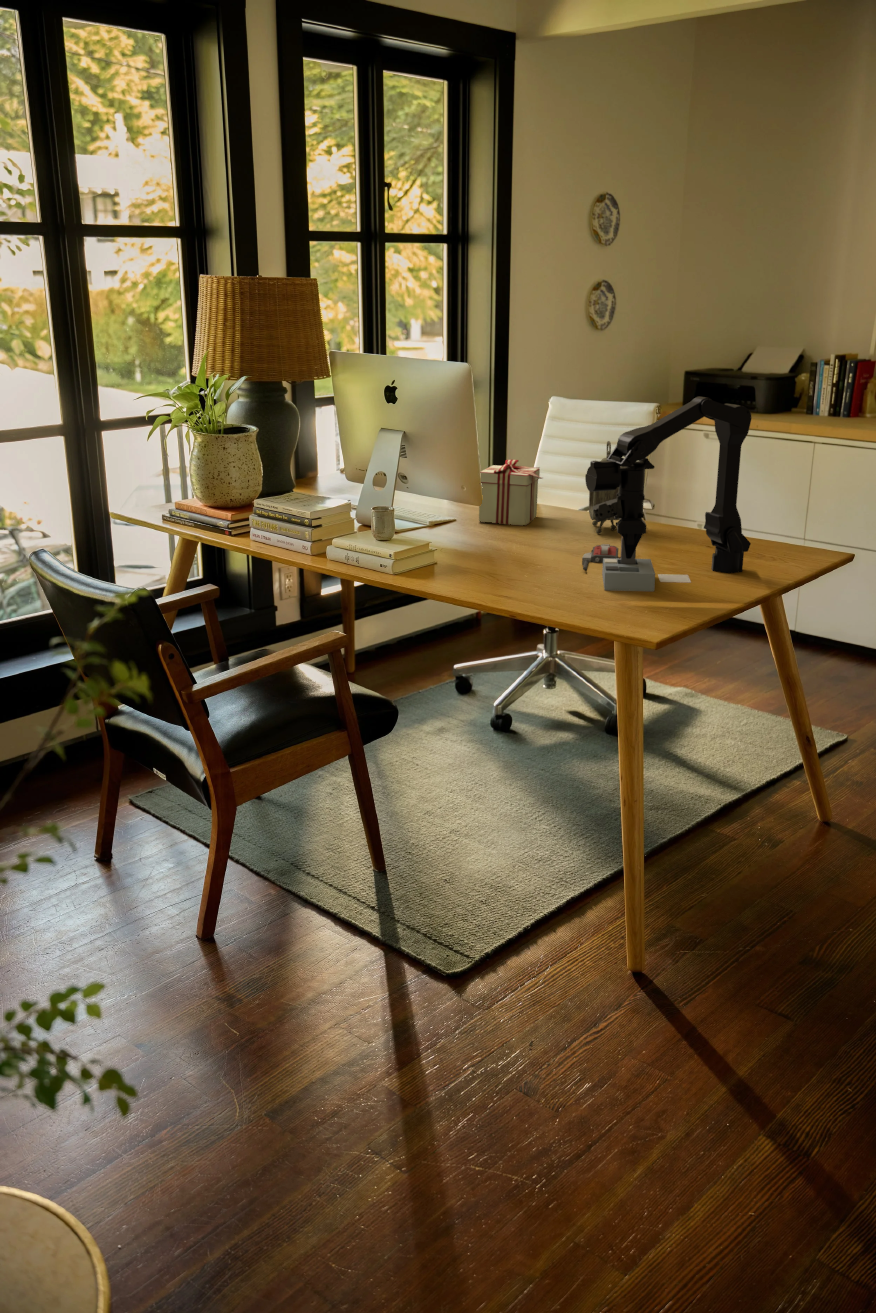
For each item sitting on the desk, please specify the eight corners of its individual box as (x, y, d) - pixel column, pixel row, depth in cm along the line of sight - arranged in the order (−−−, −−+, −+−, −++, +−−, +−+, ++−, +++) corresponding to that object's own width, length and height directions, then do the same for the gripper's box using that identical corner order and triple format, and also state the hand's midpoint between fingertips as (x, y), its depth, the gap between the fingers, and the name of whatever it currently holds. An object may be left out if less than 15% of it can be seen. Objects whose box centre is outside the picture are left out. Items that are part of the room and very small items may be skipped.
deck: (687, 578, 255) (687, 574, 255) (690, 586, 249) (691, 582, 248) (657, 578, 256) (657, 574, 256) (659, 585, 249) (660, 581, 249)
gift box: (539, 526, 313) (541, 467, 307) (477, 524, 317) (477, 465, 311) (548, 515, 328) (549, 458, 323) (488, 513, 332) (488, 456, 327)
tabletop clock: (588, 525, 314) (591, 437, 306) (619, 525, 314) (623, 437, 306) (592, 535, 301) (596, 444, 293) (625, 535, 300) (630, 444, 292)
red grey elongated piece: (584, 555, 280) (580, 574, 261) (585, 538, 278) (580, 556, 260) (618, 556, 278) (616, 575, 260) (619, 539, 277) (617, 557, 258)
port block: (649, 579, 255) (650, 557, 253) (653, 595, 242) (655, 572, 240) (602, 578, 256) (603, 556, 254) (604, 594, 243) (605, 571, 241)
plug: (634, 562, 252) (636, 528, 249) (635, 565, 249) (636, 531, 246) (620, 562, 252) (621, 528, 250) (621, 565, 249) (622, 531, 247)
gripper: (594, 481, 255) (592, 546, 260) (596, 496, 237) (593, 565, 242) (642, 482, 253) (639, 547, 258) (648, 496, 236) (644, 566, 241)
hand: (628, 556), depth 250 cm, fingers closed on plug, 3 cm apart
